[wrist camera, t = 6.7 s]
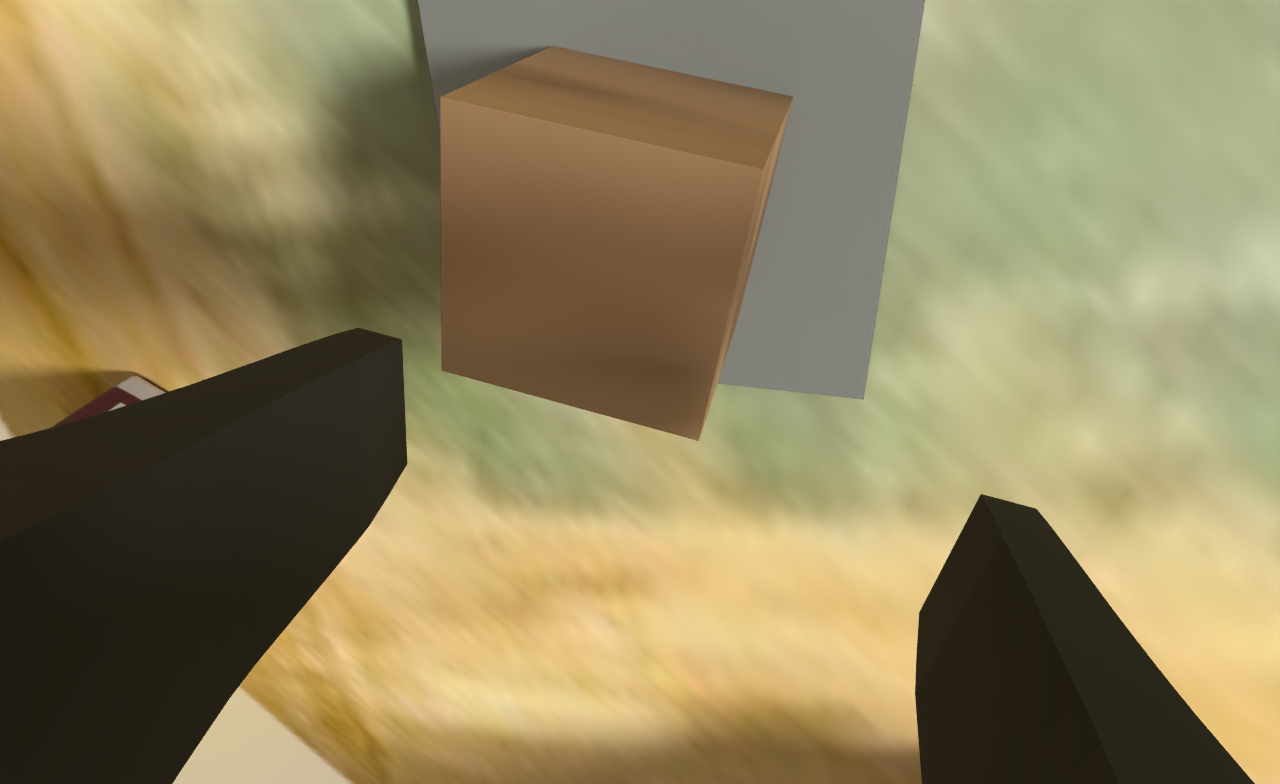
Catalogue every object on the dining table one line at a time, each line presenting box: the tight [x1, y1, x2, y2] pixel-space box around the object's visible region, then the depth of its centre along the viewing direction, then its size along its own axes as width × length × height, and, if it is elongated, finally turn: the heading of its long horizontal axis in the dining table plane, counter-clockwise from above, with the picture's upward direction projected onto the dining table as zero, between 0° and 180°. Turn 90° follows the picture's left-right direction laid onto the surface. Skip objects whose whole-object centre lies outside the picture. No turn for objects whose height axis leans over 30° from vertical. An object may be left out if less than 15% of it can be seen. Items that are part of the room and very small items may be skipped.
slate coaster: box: [418, 0, 925, 399], centre depth 17 cm, size 10×10×1 cm
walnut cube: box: [440, 46, 794, 441], centre depth 15 cm, size 5×5×5 cm
